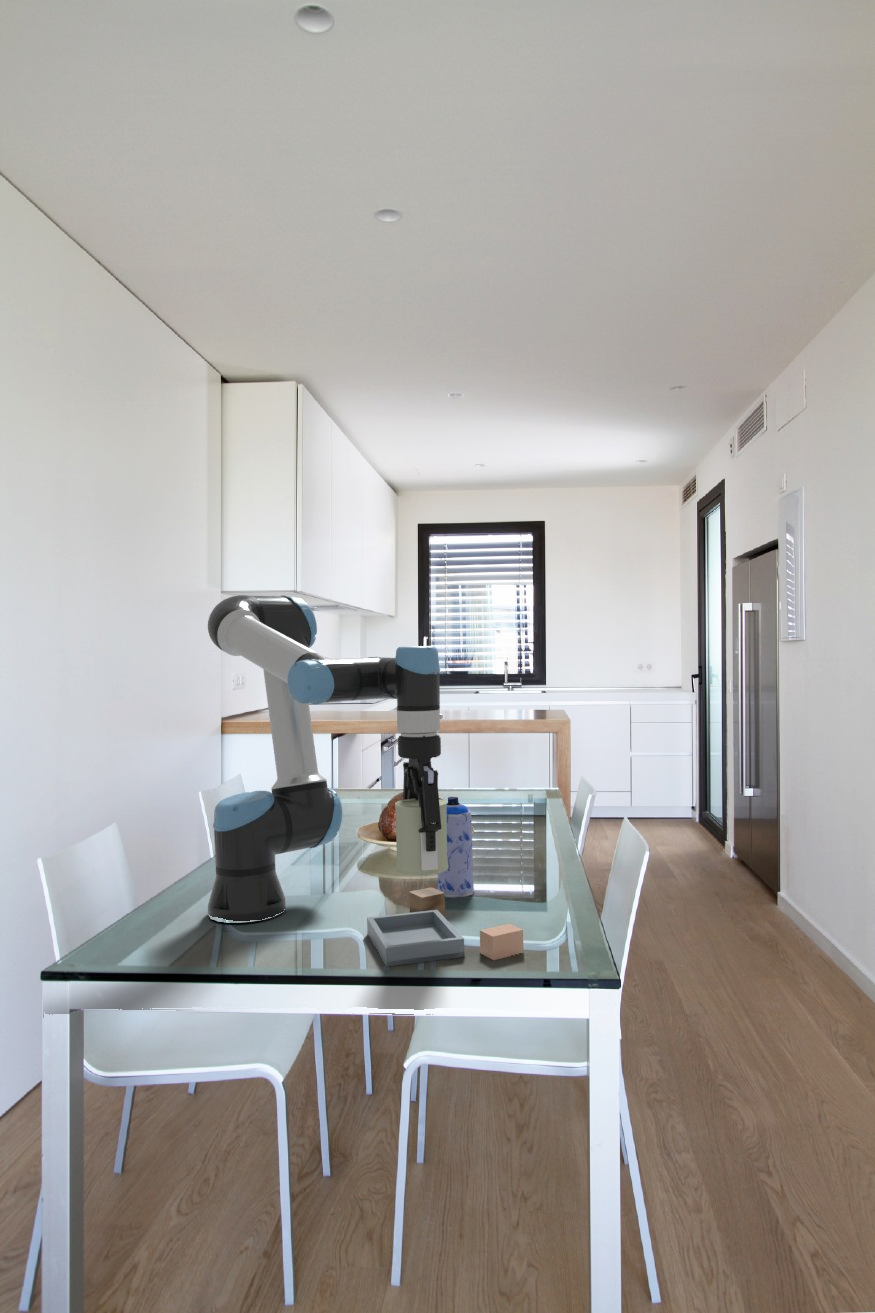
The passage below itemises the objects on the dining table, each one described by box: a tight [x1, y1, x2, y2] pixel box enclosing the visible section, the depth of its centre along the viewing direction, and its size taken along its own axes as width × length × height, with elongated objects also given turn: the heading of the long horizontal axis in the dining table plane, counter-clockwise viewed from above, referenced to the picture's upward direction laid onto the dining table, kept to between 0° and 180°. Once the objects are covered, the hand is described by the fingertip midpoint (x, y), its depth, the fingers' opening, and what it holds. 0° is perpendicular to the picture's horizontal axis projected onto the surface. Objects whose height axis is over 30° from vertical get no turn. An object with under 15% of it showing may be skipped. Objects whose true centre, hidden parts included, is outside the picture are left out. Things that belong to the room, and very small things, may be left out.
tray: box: [366, 910, 466, 968], centre depth 148 cm, size 17×13×3 cm
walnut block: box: [408, 886, 447, 920], centre depth 164 cm, size 5×5×5 cm
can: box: [394, 798, 448, 876], centre depth 150 cm, size 9×9×12 cm
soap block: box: [479, 923, 524, 961], centre depth 143 cm, size 6×4×4 cm, turn 119°
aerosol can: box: [437, 796, 476, 898], centre depth 181 cm, size 8×8×20 cm
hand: (421, 862), depth 150 cm, fingers closed on can, 9 cm apart
